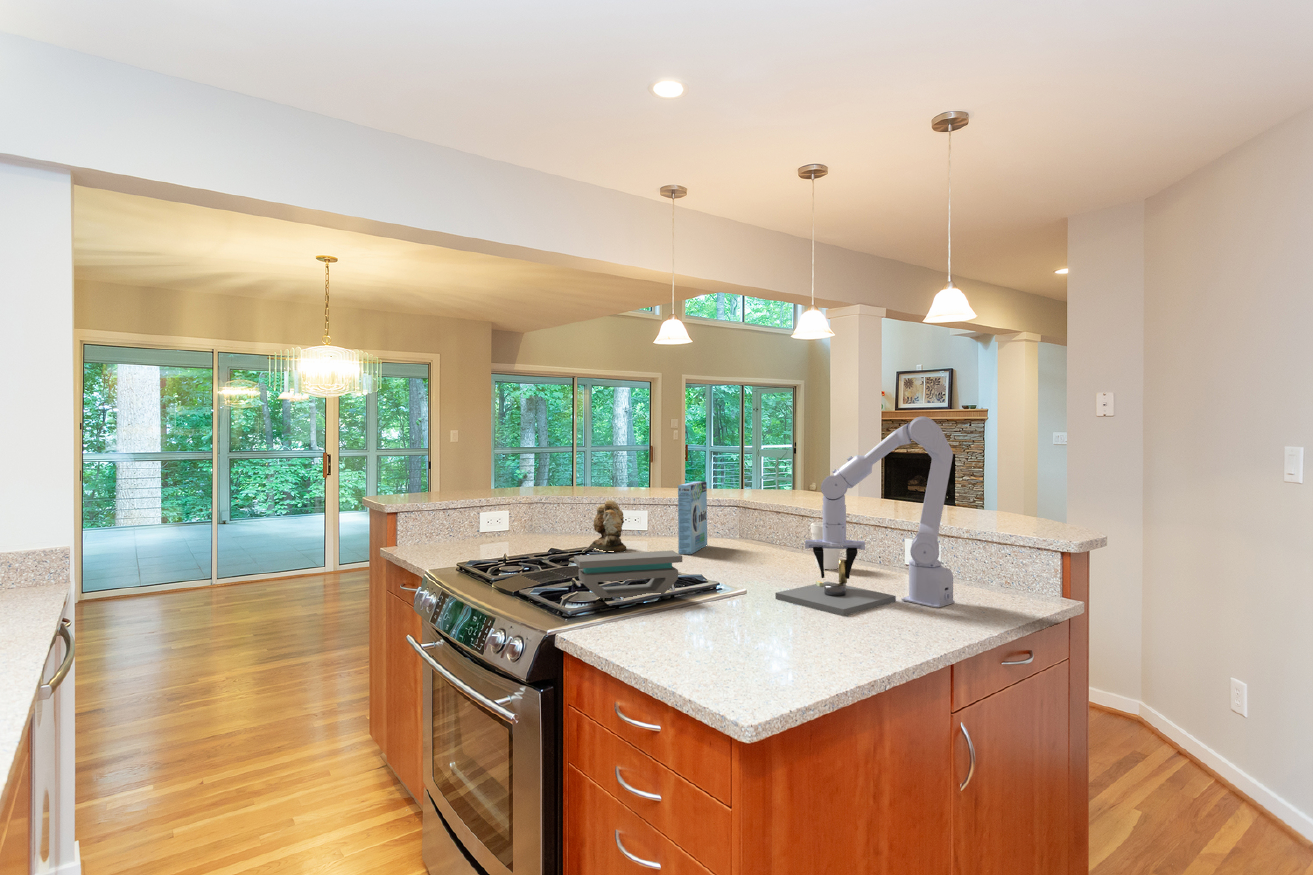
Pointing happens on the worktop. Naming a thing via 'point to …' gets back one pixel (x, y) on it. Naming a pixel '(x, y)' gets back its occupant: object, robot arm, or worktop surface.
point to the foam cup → (829, 554)
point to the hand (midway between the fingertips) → (834, 577)
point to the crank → (840, 588)
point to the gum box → (692, 517)
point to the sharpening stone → (628, 572)
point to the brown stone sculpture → (609, 527)
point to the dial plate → (835, 599)
